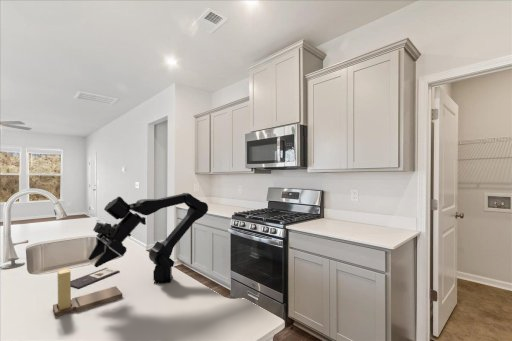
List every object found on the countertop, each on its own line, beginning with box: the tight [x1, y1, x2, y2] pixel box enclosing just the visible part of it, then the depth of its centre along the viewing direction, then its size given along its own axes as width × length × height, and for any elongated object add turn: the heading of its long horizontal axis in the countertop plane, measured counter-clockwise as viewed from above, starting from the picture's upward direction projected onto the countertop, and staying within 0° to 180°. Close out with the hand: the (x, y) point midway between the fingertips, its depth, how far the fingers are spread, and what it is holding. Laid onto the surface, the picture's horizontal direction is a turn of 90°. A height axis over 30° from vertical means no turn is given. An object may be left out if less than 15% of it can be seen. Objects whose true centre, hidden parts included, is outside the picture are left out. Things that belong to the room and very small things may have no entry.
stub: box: [57, 267, 72, 311], centre depth 87 cm, size 3×4×13 cm
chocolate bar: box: [71, 267, 120, 290], centre depth 113 cm, size 9×1×18 cm
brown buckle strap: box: [52, 285, 123, 318], centre depth 92 cm, size 19×8×2 cm, turn 133°
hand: (92, 263), depth 93 cm, fingers open, 9 cm apart
